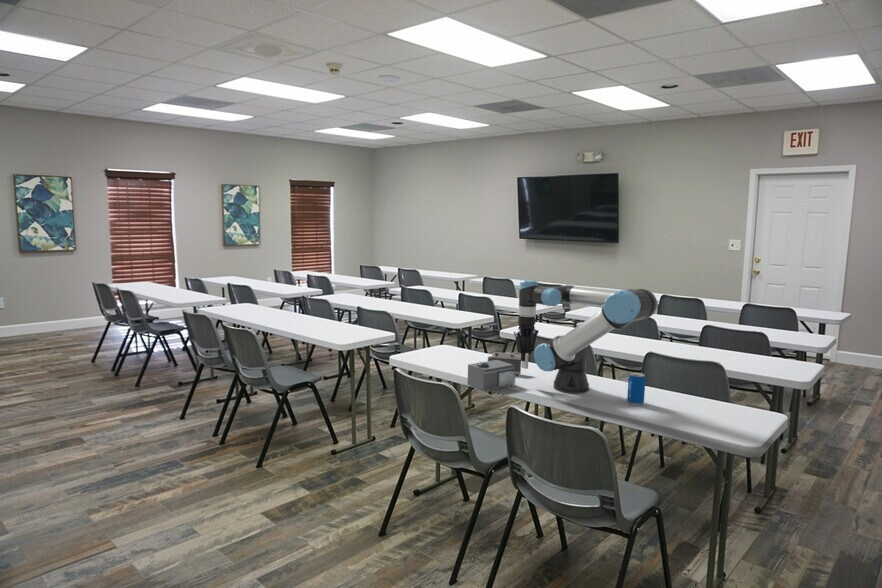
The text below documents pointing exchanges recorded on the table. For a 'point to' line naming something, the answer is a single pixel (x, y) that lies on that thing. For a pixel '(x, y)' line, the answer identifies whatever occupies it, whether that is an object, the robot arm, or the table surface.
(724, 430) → the table surface
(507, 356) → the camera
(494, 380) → the sliding door box
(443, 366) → the table surface
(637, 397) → the beverage can
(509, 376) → the side door
